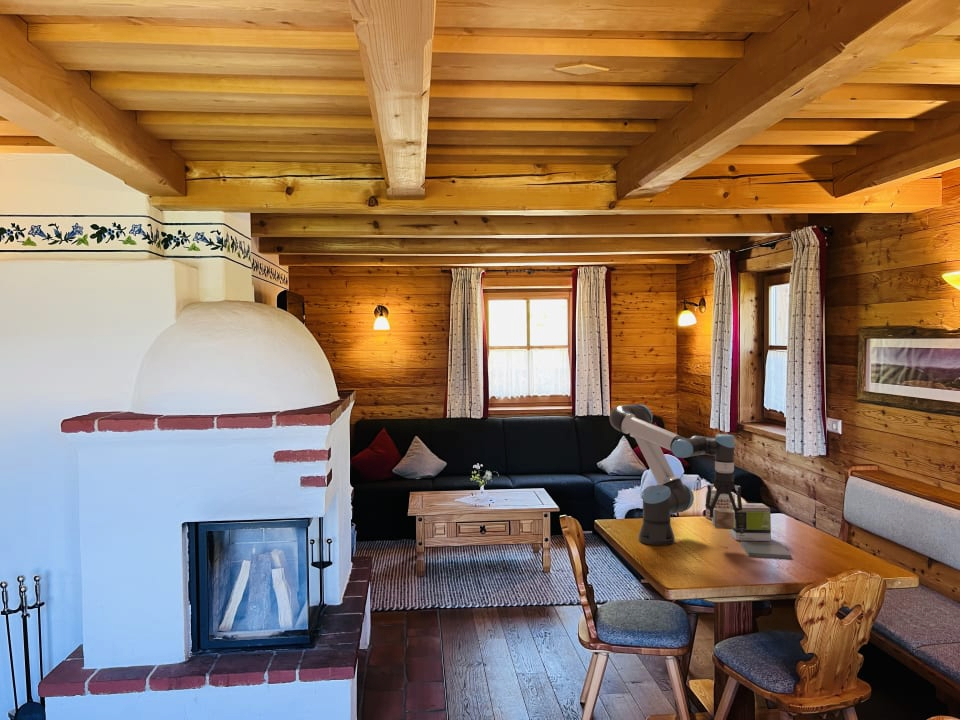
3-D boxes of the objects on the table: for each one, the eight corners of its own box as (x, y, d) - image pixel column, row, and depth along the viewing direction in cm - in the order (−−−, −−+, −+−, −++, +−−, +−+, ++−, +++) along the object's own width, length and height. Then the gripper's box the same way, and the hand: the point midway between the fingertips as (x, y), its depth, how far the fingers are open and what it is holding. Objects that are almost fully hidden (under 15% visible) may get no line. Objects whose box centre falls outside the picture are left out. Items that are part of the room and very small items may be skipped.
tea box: (763, 535, 293) (763, 502, 293) (771, 541, 283) (771, 508, 283) (729, 534, 295) (729, 502, 295) (735, 540, 285) (735, 507, 285)
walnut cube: (715, 528, 271) (716, 511, 270) (713, 523, 277) (713, 507, 277) (733, 529, 269) (733, 512, 269) (730, 524, 276) (730, 508, 276)
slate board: (748, 556, 263) (748, 552, 263) (740, 544, 278) (740, 541, 278) (791, 558, 260) (791, 555, 260) (780, 547, 275) (780, 543, 275)
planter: (708, 521, 318) (708, 495, 318) (703, 514, 332) (703, 489, 331) (737, 522, 316) (737, 496, 316) (731, 515, 329) (731, 490, 329)
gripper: (700, 472, 271) (699, 526, 272) (751, 474, 267) (750, 529, 268) (698, 468, 278) (697, 521, 279) (747, 471, 275) (746, 525, 275)
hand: (723, 525), depth 273 cm, fingers closed on walnut cube, 7 cm apart
